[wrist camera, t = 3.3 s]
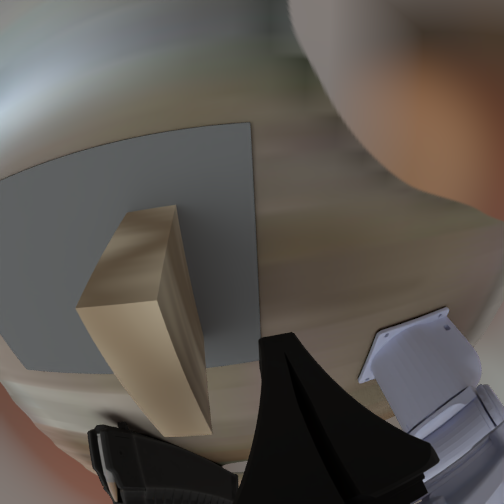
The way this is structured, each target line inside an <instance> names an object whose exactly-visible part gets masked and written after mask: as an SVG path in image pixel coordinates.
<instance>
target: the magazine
mask: <svg viewBox="0 0 504 504" xmlns="http://www.w3.org/2000/svg"><path fill="white" fill-rule="evenodd" d="M118 427H119V428H116V427H111V426H107V425H97V426H96V427H95V429H92V430H90V431H88V433H87V434H88V442H89V449H90V455H91V461H92V467H93V469H94V470H95V471H96V472H97V474H98V476H99V479H100V481H101V483H102V485H103V486H104V490H105V491H106V492H107V493H108V494H109V495H110V497H111V499H112V501H113V504H233V502H234V499H235V497H236V494H237V491H238V489H239V488H238V475H236V474H233V473H231V472H229V471H227V470H226V469H224V468H222V467H220V466H219V465H217V464H215V463H213V462H211V461H209V460H208V459H205V458H203V457H201V456H199V455H196V454H194V453H192V452H190V451H187V450H185V449H183V448H180V447H178V446H175V445H172V444H169V443H166V442H162V441H159V440H156V439H153V438H150V437H147V436H144V435H142V434H139V433H136V432H133V431H130V430H129V429H128V427H127V424H126V423H125V422H119V423H118Z"/></svg>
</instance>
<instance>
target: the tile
mask: <svg viewBox="0 0 504 504" xmlns="http://www.w3.org/2000/svg"><path fill="white" fill-rule="evenodd" d="M76 310H77V312H78V314H79V316H80V318H81V320H82V322H83V323H84V325H85V327H86V329H87V331H88V332H89V334H90V336H91V338H92V339H93V341H94V343H95V344H96V346H97V348H98V349H99V351H100V352H101V354H102V356H103V357H104V359H105V360H106V362H107V363H108V365H109V366H110V368H111V369H112V371H113V372H114V374H115V375H116V377H117V378H118V380H119V381H120V382H121V384H122V385H123V387H124V388H125V389H126V391H127V392H128V393H129V395H130V396H131V397H132V399H133V400H134V401H135V403H136V404H137V405H138V406H139V408H140V409H141V410H142V411H143V413H144V414H145V415H146V416H147V418H148V419H149V420H150V421H151V422H152V423H153V425H154V426H155V427H156V428H157V429H158V430H159V431H160V433H161V434H162V435H163V436H164V437H182V436H199V435H211V434H213V433H212V425H211V416H210V406H209V397H208V386H207V375H206V363H205V349H204V336H203V332H202V328H201V324H200V320H199V316H198V312H197V308H196V303H195V299H194V295H193V290H192V286H191V281H190V277H189V272H188V267H187V262H186V257H185V252H184V247H183V242H182V237H181V231H180V226H179V220H178V214H177V208H176V205H171V206H164V207H158V208H151V209H145V210H139V211H133V212H128V213H126V215H125V217H124V218H123V220H122V221H121V223H120V225H119V226H118V228H117V230H116V231H115V233H114V235H113V236H112V238H111V240H110V242H109V243H108V245H107V247H106V249H105V250H104V252H103V254H102V256H101V258H100V260H99V261H98V263H97V265H96V267H95V269H94V271H93V273H92V275H91V277H90V279H89V281H88V283H87V285H86V287H85V289H84V291H83V293H82V295H81V297H80V299H79V301H78V304H77V306H76Z"/></svg>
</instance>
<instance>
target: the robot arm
mask: <svg viewBox="0 0 504 504" xmlns="http://www.w3.org/2000/svg"><path fill="white" fill-rule="evenodd" d="M448 312H449V309H448V308H447V307H445V308H442V309H440V310H437V311H435V312H432V313H430V314H427V315H424V316H422V317H419V318H416V319H413V320H411V321H408V322H405V323H402V324H399V325H396V326H393V327H390V328H387V329H384V330H381V331H379V332H378V333H377V334H376V337H375V339H374V342H373V345H372V347H371V350H370V352H369V355H368V357H367V360H366V362H365V364H364V367H363V369H362V372H361V374H360V376H359V378H358V382H359V383H364V382H366V381H369V380H372V379H376V381H377V383H378V384H379V386H380V388H381V390H382V392H383V394H384V395H385V397H386V399H387V401H388V403H389V405H390V407H391V409H392V410H393V412H394V414H395V416H396V418H397V420H398V422H399V424H400V426H401V428H402V430H403V431H402V430H400V429H398V428H396V427H394V426H393V425H391V424H390V423H388V422H386V421H385V420H383V419H382V418H380V417H378V416H377V415H375V414H374V413H372V412H371V411H370V410H368V409H367V408H365V407H364V406H363V405H361V404H360V403H359V402H358V401H356V400H355V399H354V398H353V397H351V396H350V395H349V394H348V393H347V392H346V391H345V390H343V389H342V388H341V387H340V386H339V385H338V384H337V383H336V382H335V381H334V380H333V379H332V378H331V377H330V376H329V375H328V374H327V373H326V372H325V371H324V370H323V368H322V367H321V366H320V365H319V364H318V363H317V362H316V361H315V360H314V358H313V357H312V356H311V355H310V354H309V352H308V351H307V350H306V349H305V347H304V346H303V345H302V344H301V342H300V341H299V339H298V338H297V337H296V335H295V334H294V333H292V332H290V333H285V334H280V335H274V336H269V337H263V338H260V339H259V340H258V346H259V366H260V372H261V379H262V386H261V396H260V405H259V413H258V419H257V424H256V430H255V434H254V439H253V443H252V447H251V451H250V455H249V459H248V462H247V465H246V468H245V471H244V475H243V478H242V481H241V484H240V486H239V489H238V491H237V494H236V497H235V499H234V502H233V504H414V503H415V502H417V501H419V500H422V501H421V502H419V503H417V504H504V406H503V405H502V403H501V402H500V400H499V399H498V397H497V396H496V394H495V393H494V392H493V390H492V389H491V388H490V386H489V385H487V384H485V385H482V384H480V385H479V386H477V385H478V383H479V380H480V378H481V371H482V370H481V369H482V368H481V362H480V359H479V356H478V354H477V352H476V351H475V350H474V348H473V347H472V346H471V344H470V343H469V342H468V341H467V339H466V338H465V337H464V336H463V335H462V333H461V332H460V331H459V330H458V329H457V327H456V326H455V325H454V324H453V323H452V322H451V320H450V319H449V318H448V317H447V314H448ZM476 386H477V387H476Z"/></svg>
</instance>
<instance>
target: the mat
mask: <svg viewBox="0 0 504 504" xmlns="http://www.w3.org/2000/svg"><path fill="white" fill-rule="evenodd" d="M171 205H176V208H177V214H178V220H179V226H180V231H181V237H182V242H183V247H184V252H185V257H186V262H187V267H188V272H189V277H190V281H191V286H192V290H193V295H194V299H195V303H196V308H197V312H198V316H199V320H200V324H201V328H202V332H203V336H204V349H205V363H206V368H210V367H218V366H226V365H233V364H239V363H246V362H252V361H258V360H259V346H258V340H259V339H260V338H261V332H260V310H259V288H258V267H257V246H256V226H255V206H254V186H253V167H252V148H251V129H250V122H247V123H233V124H222V125H212V126H203V127H195V128H187V129H180V130H174V131H167V132H162V133H156V134H150V135H145V136H140V137H135V138H131V139H126V140H122V141H117V142H113V143H109V144H105V145H101V146H97V147H93V148H90V149H86V150H83V151H79V152H76V153H73V154H69V155H66V156H63V157H60V158H57V159H54V160H51V161H48V162H45V163H43V164H40V165H37V166H34V167H32V168H29V169H27V170H24V171H22V172H19V173H17V174H14V175H12V176H10V177H7V178H5V179H3V180H1V181H0V334H1V336H2V337H3V339H4V340H5V341H6V343H7V344H8V346H9V347H10V348H11V350H12V351H13V352H14V354H15V355H16V356H17V358H18V359H19V360H20V362H21V363H22V364H23V365H24V367H25V368H26V369H28V370H38V371H49V372H63V373H87V374H114V372H113V371H112V369H111V368H110V366H109V365H108V363H107V362H106V360H105V359H104V357H103V356H102V354H101V352H100V351H99V349H98V348H97V346H96V344H95V343H94V341H93V339H92V338H91V336H90V334H89V332H88V331H87V329H86V327H85V325H84V323H83V322H82V320H81V318H80V316H79V314H78V312H77V310H76V306H77V304H78V301H79V299H80V297H81V295H82V293H83V291H84V289H85V287H86V285H87V283H88V281H89V279H90V277H91V275H92V273H93V271H94V269H95V267H96V265H97V263H98V261H99V260H100V258H101V256H102V254H103V252H104V250H105V249H106V247H107V245H108V243H109V242H110V240H111V238H112V236H113V235H114V233H115V231H116V230H117V228H118V226H119V225H120V223H121V221H122V220H123V218H124V217H125V215H126V213H128V212H133V211H139V210H145V209H151V208H158V207H164V206H171Z"/></svg>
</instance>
